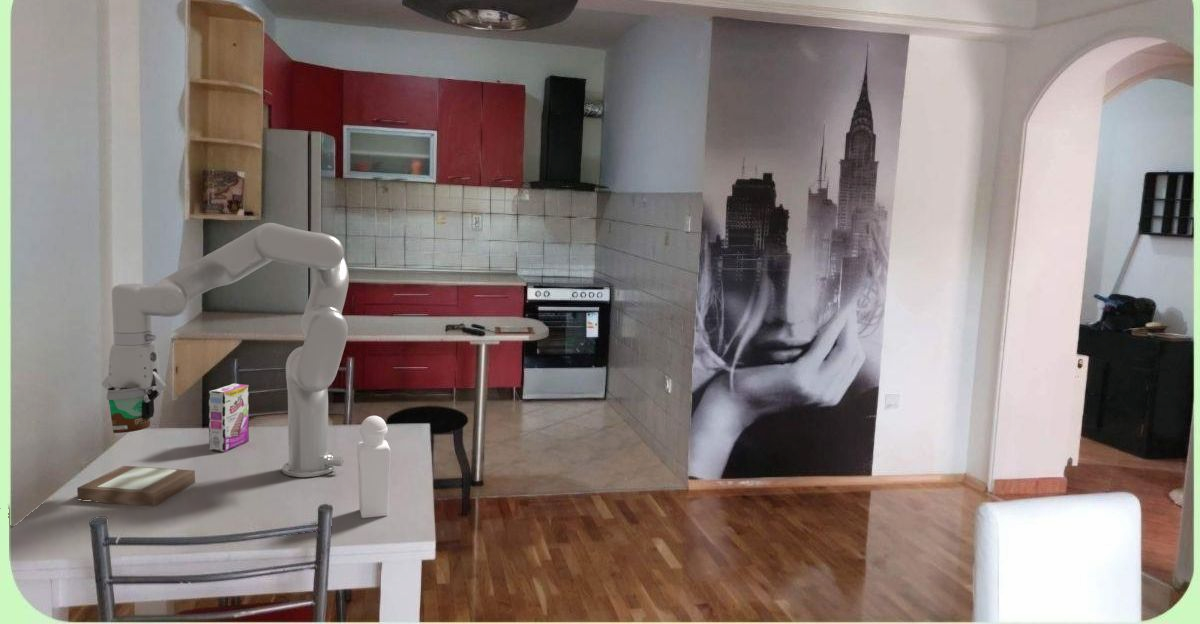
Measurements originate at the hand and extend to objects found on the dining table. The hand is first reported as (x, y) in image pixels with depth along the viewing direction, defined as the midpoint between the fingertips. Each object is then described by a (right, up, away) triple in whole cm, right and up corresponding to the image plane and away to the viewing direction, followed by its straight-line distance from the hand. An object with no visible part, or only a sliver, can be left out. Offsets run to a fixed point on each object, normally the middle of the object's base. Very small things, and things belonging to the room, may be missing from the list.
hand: (135, 416), depth 195 cm
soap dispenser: (+56, -21, -5) cm, 60 cm away
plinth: (-1, -18, +2) cm, 18 cm away
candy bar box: (+5, -13, +39) cm, 41 cm away
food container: (+1, -3, 0) cm, 3 cm away
